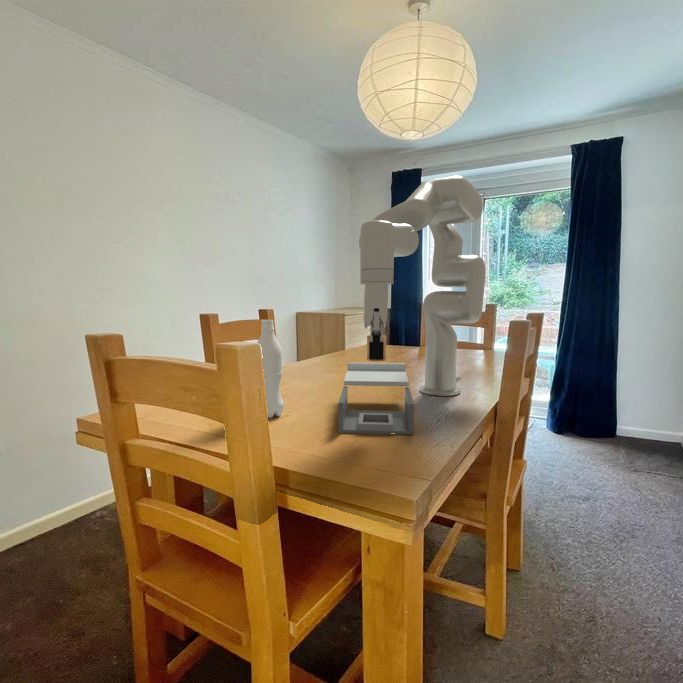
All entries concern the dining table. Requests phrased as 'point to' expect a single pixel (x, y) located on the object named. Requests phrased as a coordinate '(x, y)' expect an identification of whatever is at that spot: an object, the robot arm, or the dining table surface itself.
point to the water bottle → (271, 368)
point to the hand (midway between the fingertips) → (376, 356)
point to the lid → (376, 374)
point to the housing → (375, 418)
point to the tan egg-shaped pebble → (383, 351)
